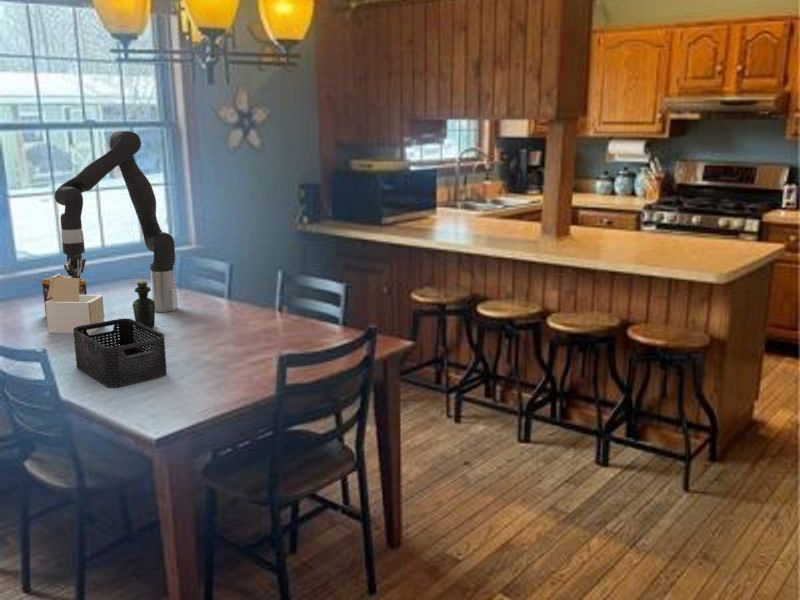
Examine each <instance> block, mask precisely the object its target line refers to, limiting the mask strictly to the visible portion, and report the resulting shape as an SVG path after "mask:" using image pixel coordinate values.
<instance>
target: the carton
mask: <svg viewBox="0 0 800 600" xmlns="http://www.w3.org/2000/svg"><path fill="white" fill-rule="evenodd" d="M103 298H104V297H103V295H101V294H87V295H79V302H61V301H52V299H53V298H52V299H50V300H48V301H46V302H45V303H44V306H45V305H46V313H45V315H46V314H47V316H46V320H47V321H46V322H47V331H48V334H74V331H73V329H74V328H75V327H78V326H82V325H88V324H94V323H100V322H105V312H104V311H105V310H104V299H103ZM99 329H100V328H95V329H89V330H86V331H87V333H88V335H92V334H93V333H94V332H96V331H98V330H99Z"/></svg>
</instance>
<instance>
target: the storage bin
mask: <svg viewBox="0 0 800 600" xmlns="http://www.w3.org/2000/svg"><path fill="white" fill-rule="evenodd" d="M110 326H113V328H112V330H110V331H106V332H100V333H99V332H98V333H95V334H88V333H87V331H86V330H89V329H95V328H99V329H101V328H105V327H110ZM142 329H143V330H142ZM73 331H74V333H73V338H74V350H75V353H74V354H75V363H76V364H75V365H76V368H77V370H78V369H79V370H80V371H81V372H83V373H85V374H86V375H88V376H90V377H91V378H92V379H94V380H95V381H97V382H99V383H100V384H101V385H103V386H105V387H107V388H109V389H110V388H112V389H118V388H124V387H126V386H130V385H134V384H139V383H142V382H147V381H151V380H155V379H160V378H163V377H166V376H167V375H168V374H167V373H168V372H167V359H166V342H165V340H166V339H165V334H164V333H161V332H159V331H158V330H155V329H154V328H149V327H147V326H145V325H143V324H141V323H139V322H136V321H135V319H132V318H117V319H112V320H106V321H105V320H104V322H100V323H94V324H88V325H82V326H78V327H75V328H74V329H73ZM123 386H124V387H123Z"/></svg>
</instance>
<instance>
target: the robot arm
mask: <svg viewBox="0 0 800 600" xmlns="http://www.w3.org/2000/svg"><path fill="white" fill-rule="evenodd" d="M108 144H109V145H108V146H109V149H110V150H109V151H107V152H106V153H104V154H103V155H101V156H100V157H98V158H97V159H95V160H93V161H91V162H90V163H88V164H87V165H86V166H85V167H83V169H81V171H79V173H77V174H76V175H75V176H74V177H72V178H71V179H68V180H67V181H65V182H64V183H63V184H61V185H60V186H59V187H58V188H57V189H56V190H55V192H54V200H55V202H56V203H58V204H59V205H61V206H64V213H62V214H60V229H61V231H60V233H61V236H60V237H61V245H62V247H61V249H62V253H63V255H66V264H63V268H64V270H65V271H66V273H67V276H71V277H73V278H80V279H81V276H82V274H84V271H85V265H86V260H87V259H86V258H83V255H82V254H85V252H86V250H85V249H86V248H85V239H84V231H83V225H82V213H83V205H84V197H83V194H82V193H84V192H89V191H91V190H92V189H93V188H94V187H96V186H97V184H99V182H100V181H102V180H103V179H104V178H105V177H106V176H107V175H108V174H110V173H111V171H113V170H114V169H115V168H117V167H118V168H119V170H120V172H121V176H122V178H123V181H124V183H125V186H126V188H127V192H128V194H129V198H130V201H131V204H132V206H133V208H134V211H135V214H136V216H137V218H138V219H137V220H138V221H139V222H138V223H139V224H140V228H141V231H142V237H143V241H144V244H145V246H146V248H147V249H148V250H149V251H150V252H151V253H153V260H152V262H151V263H150V264H149V269H150V283H151V296H152V298H151V299H152V300H153V301H154V302H155V313H157V312H158V313H165V312H168V313H169V312H174V311H175V310H177V309H178V307H179V306H178V292H177V286H176V285H175V284H176V283H175V271H174V269H175V268H174V265H175V262H176V251H175V249H176V248H175V247H176V246H175V240H174V238H173V236H172V235H171V234H170V233H168V232H164V231H162V229H161V227H160V225H159V221H158V218H157V200H156V195H155V193H154V189H153V186H152V184H151V182H150V181H149V179H148V178H147V176H146V175H145V174H144V172H143V171H142V170H141V168H140V167H139V166H138V164H137V162H136V159H135V157H134V156H135V154H137V153H138V152H139V151H140V149H141V147H142V141H141V138H140V136H139V134H137V133H135V132H134V131H128V130H125V131H124V130H121V131H120V130H119V131H114V132H112V133H111V134H110V135H109V139H108ZM80 285H81V281H80V283H79V286H80Z"/></svg>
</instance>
